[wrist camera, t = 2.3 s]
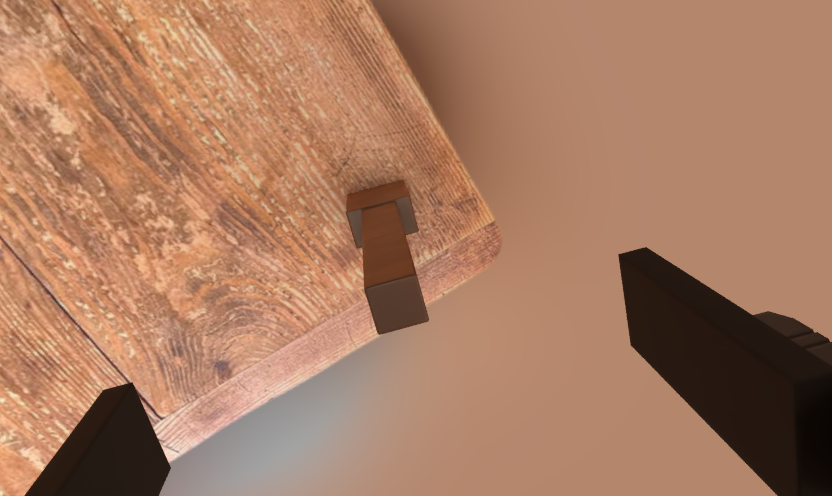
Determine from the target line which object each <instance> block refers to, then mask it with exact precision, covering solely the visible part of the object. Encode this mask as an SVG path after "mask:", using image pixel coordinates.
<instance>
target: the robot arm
mask: <svg viewBox="0 0 832 496" xmlns="http://www.w3.org/2000/svg"><path fill="white" fill-rule="evenodd" d="M619 263H620V270H621V277H622V284H623V291H624V299H625V306H626V314H627V321H628V328H629V336H630V343H631V346H632V347H633V348H634V349H635V350H636V351H637V352H638V353H639V354H640V355H641V356H642V357H643V358H644V359H645V360H646V361H647V362H648V363H649V364H650V365H651V366H652V367H653V368H654V369H655V370H656V371H657V372H658V373H659V375H661V377H663V379H664V380H665V381H666V382H667V383H668V384H669V385H670V386H671V387H672V388H673V389H674V390H675V391H676V392H677V393H678V394H679V395H680V396H681V397H682V398H683V399H684V400H685V401H686V402H687V403H688V404H689V405H690V406H691V407H692V408H693V409H694V410H695V411H696V412H697V413H698V414H699V416H700V417H701V418H702V419H703V420H705V422H706V423H707V424H708V425H710V427H711V428H712V429H713V430H714V431H715V432H716V433H717V434H718V435H719V436H720V437H721V438H722V439H723V440H724V441H725V442H726V443H727V444H728V445H729V446H730V447H731V448H732V449H733V450H734V451H735V452H736V453H737V454H738V455H739V456H740V457H741V459H742V460H743V461H744V462H745V463H746V464H747V465H748V466H749V467H750V468H751V469H752V470H753V471H754V472H755V473H756V474H757V475H758V476H759V477H760V478H761V479H762V480H763V481H764V482H765V483H766V484H767V485H768V486H769V487H770V488H771V489H772V490H773V491H774V492H775V493H776V494H777V495H778V496H832V342H830V341H829V339H828V338H826V337H824V336H823V335H821V334H819V333H818V332H817V333H814V332H813V330H812V329H810V328H809V327H807V326H806V325H804V324H802V323H801V322H799V321H797V320H795V319H793V318H790V317H786V316H783V315H779V314H776V313H772V312H769V311H767V312H764V313H760V314H756V315H751V314H750V313H748V312H747V311H745V310H744V309H742V308H740V307H739V306H737V305H736V304H734V303H732V302H731V301H730V300H728V299H726V298H725V297H723V296H722V295H720V294H719V293H717V292H715V291H714V290H712V289H711V288H709V287H708V286H706V285H704V284H703V283H701V282H700V281H698V280H697V279H695V278H694V277H692V276H690V275H689V274H687V273H686V272H684V271H683V270H681V269H680V268H678V267H676V266H675V265H673V264H672V263H670V262H668V261H667V260H665V259H664V258H662V257H661V256H659V255H658V254H656V253H654V252H653V251H651V250H650V249H648V248H647V247H645V248H641V249H637V250H633V251H630V252H626V253H622V254H619ZM170 469H171V467H170V465H169V463H168V461H167V458H166V456H165V454H164V452H163V449H162V447H161V445H160V443H159V440H158V438H157V436H156V434H155V432H154V429H153V427H152V425H151V423H150V420H149V418H148V416H147V414H146V411H145V409H144V407H143V405H142V403H141V400H140V398H139V396H138V394H137V391H136V389H135V387H134V385H133V382H132V383H128V384H124V385H121V386H117V387H113V388H109V389H105V390H103V391H102V393H101V394H100V395H99V397H98V398H97V399H96V401H95V402H94V403H93V405H92V406H91V407H90V409H89V410H88V411H87V413H86V414H85V415H84V417H83V418H82V419H81V421H80V422H79V423H78V425H77V426H76V427H75V429H74V430H73V431H72V433H71V434H70V435H69V437H68V438H67V439H66V441H65V442H64V443H63V445H62V446H61V447H60V449H59V450H58V451H57V453H56V454H55V455H54V457H53V458H52V459H51V461H50V462H49V463H48V465H47V466H46V468H45V469H44V470H43V472H42V473H41V474H40V476H39V477H38V478H37V480H36V481H35V482H34V484H33V485H32V486H31V488H30V489H29V490H28V492H27V493H26V494H25V496H159V494H160V491H161V489H162V487H163V484H164V482H165V480H166V478H167V476H168V473H169V471H170Z"/></svg>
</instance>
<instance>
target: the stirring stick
mask: <svg viewBox="0 0 832 496" xmlns="http://www.w3.org/2000/svg"><path fill="white" fill-rule="evenodd" d="M346 215H347V218H348V221H349V225H350V228H351V231H352V234H353V238H354V241H355V244H356V248H361V247H363V271H364V290H365V294H366V297H367V300H368V303H369V307H370V310H371V313H372V316H373V320H374V323H375V326H376V330H377V333H378V334H379V335H381V334H384V333H388V332H392V331H395V330H399V329H402V328H406V327H410V326H413V325H417V324H421V323H424V322H427V321H428V320H429V318H428V314H427V310H426V307H425V303H424V299H423V296H422V292H421V288H420V285H419V281H418V277H417V274H416V270H415V267H414V263H413V260H412V256H411V253H410V249H409V246H408V242H407V239H406V235H408V234H412V233H415V232H418V231H419V230H418V226H417V222H416V218H415V214H414V211H413V207H412V203H411V199H410V196H409V193H408V191H407V188H406V186H405V183H404V181H403V180H400V181H396V182H393V183H389V184H385V185H382V186H378V187H374V188H371V189H367V190H363V191H360V192H356V193H352V194H349V195H347V207H346Z"/></svg>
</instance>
